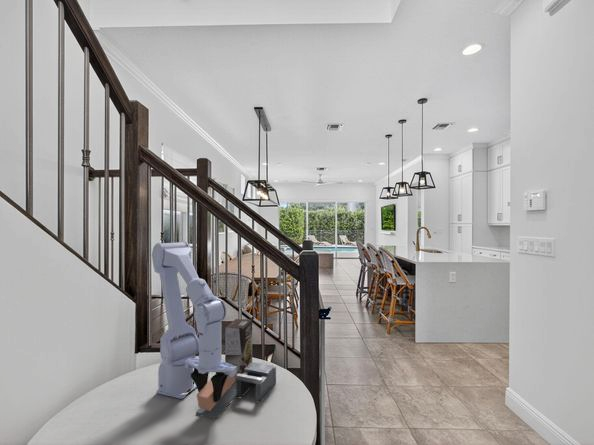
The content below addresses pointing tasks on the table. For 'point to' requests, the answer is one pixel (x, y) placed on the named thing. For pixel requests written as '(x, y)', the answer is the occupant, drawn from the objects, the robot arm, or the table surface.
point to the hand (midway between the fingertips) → (210, 398)
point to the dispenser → (256, 380)
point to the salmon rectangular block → (211, 394)
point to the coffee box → (238, 344)
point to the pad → (219, 405)
